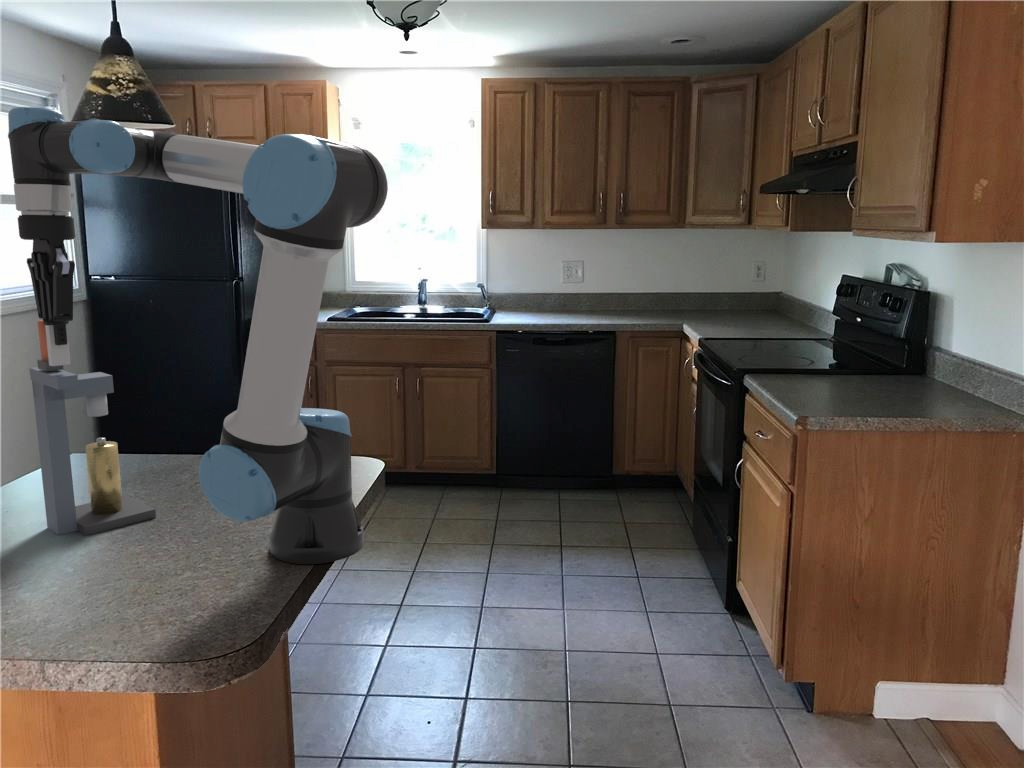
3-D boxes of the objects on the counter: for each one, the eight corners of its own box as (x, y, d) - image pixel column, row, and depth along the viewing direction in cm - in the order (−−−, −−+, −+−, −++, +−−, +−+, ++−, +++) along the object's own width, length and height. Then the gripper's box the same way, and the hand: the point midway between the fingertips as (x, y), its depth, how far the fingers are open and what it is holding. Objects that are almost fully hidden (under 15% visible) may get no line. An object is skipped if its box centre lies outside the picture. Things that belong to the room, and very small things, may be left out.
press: (163, 521, 142) (151, 365, 137) (73, 545, 131) (57, 377, 126) (126, 501, 152) (114, 355, 146) (40, 522, 141) (23, 365, 135)
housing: (127, 509, 143) (121, 438, 141) (98, 516, 140) (92, 443, 137) (115, 503, 147) (109, 433, 144) (86, 510, 143) (80, 438, 140)
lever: (63, 369, 131) (58, 321, 129) (46, 371, 129) (41, 322, 127) (55, 366, 133) (50, 319, 132) (38, 368, 131) (33, 320, 130)
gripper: (88, 214, 122) (101, 367, 127) (55, 214, 130) (68, 357, 135) (34, 213, 116) (50, 372, 121) (3, 213, 125) (19, 362, 129)
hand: (59, 364), depth 128 cm, fingers closed
